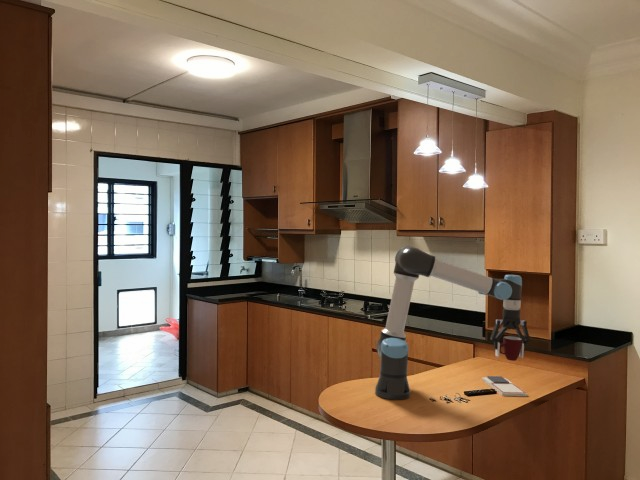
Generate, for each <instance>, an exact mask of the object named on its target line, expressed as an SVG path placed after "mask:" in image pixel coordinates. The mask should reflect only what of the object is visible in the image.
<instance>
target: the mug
mask: <svg viewBox="0 0 640 480" xmlns="http://www.w3.org/2000/svg"><path fill="white" fill-rule="evenodd" d="M521 346H522V339H520V338H519V336H518V337H517V336H511V335H507V336H505V335H504V336H502V343H500V350H499V354H501V355H504V356H505V358H506V360H508V361H511V362H514V361H517V360H518V359H519V357H520V356H519V354H520V350H521ZM501 348H503V352H502V349H501Z"/></svg>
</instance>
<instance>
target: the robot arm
mask: <svg viewBox="0 0 640 480" xmlns="http://www.w3.org/2000/svg"><path fill="white" fill-rule="evenodd" d="M394 261H395V265H394V268H393V275H394V276H395V279H394V280H395V281H394V285H393V289H392V294H391V300H390V303H389V308H388V309H389V310H388V314H387V318H386V323H385V327H384V328H382V329H381V331H380V335H379V338H378V340H377V341H376V352H377V354H378V356H379V359H380V363H379V364H380V365H379V366H380V368H379V369H380V370H379V371H380V372H379V377H378V380H377V383H376V385H375V387H374V394H375V395H376V396H378V397H379V398H383V399H387V400H391V401H392V400H393V401H394V400H395V401H396V400H397V401H399V400H400V401H401V400H402V401H403V400H407V399H409V398H410V397H411V389H410V385H409V381H408V360H409V359H408V358H409V351H410V350H409V344H408V342H407V341H406V338H407V334H406V333H405V327H406V324H407V323H406V322H407V318H408V314H409V309H410V304H411V299H412V294H413V292H414V285H415V282H416V281H417V280H418V279H419V277H420V276H423V277H426V278H430V277H432V278H435V279H440V280H443V281H446V282H448V283H451V284H455V285H458V286H461V287H463V288H467V289H470V290H471V291H472V290H473V291H475V292H478V294H479V295H484V296H490V297H493V298H496V299H498V300H501V301H503V304H502V307H503V309H502V319H495V322H494V323H495V324H494V327H493V330H492V331H491V334H490V338H489V339H490V340H491V341H492V342H493V349H494V350H495V354H494V355H495V357H497V358H500V352H499V350H500V344H501V343H500V340H501V339H502V338H503V335H505V332H507V330H515V332H516V334H517V336H518V337H519V338H520V339H522V346H521V350H520V354H519V357H520V358H521V359H524V351H525V350H526V349H527V348H526V345H527V344H528V343H530V342H531V339H530V334H529V330H528V326H527V323H528V321H527V320H524V319H523V320H521V310H520V309H521V304H522V303H521V302H522V288H523V278H522V277H521V275H517V274H505V275H504V278H492V277H490V276H487V275H484V274H481V273H478V272H475V271H472V270H468V269H467V268H463V267H460V266H457V265H454V264H452V263H448V262H446V261H442V260H439V259H438V258H437V256H436V255H435V256H434V255H432V254H430V253H427V252H425V251H423V250H421V249H419V248H417V247H414V246H410V245H408V246H407V245H406V246H403V247H402V248H400V249H399V250H398V251H397V252H396V254H395V257H394ZM501 324H502V326H501ZM519 325H521V329H520V327H519ZM500 326H501V327H500ZM521 330H522V331H521Z"/></svg>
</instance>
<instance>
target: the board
mask: <svg viewBox="0 0 640 480" xmlns="http://www.w3.org/2000/svg"><path fill="white" fill-rule="evenodd" d="M481 379H482V381H483V382H484V383H485V384H486V385H488V386H489V387H491V388H492V389H493V390H494V389H495V390H494V391H495V392H497V393H498V394H499V395H500V396H502V397H503V396H506V397H528V395H529V394H528V393H527V392H526V391H524V390H523V389H522V388H520V387H519V386H517V384H515V383H514V382H512V381H510V380H509V379H508V378H507V377H503V376H500V375H499V376H498V375H495V376H494V375H488V376H487V377H486V376H483V377H482V378H481Z"/></svg>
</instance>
